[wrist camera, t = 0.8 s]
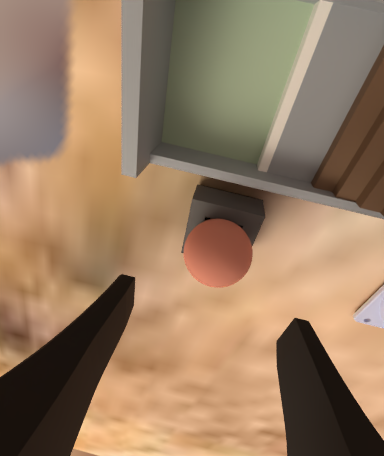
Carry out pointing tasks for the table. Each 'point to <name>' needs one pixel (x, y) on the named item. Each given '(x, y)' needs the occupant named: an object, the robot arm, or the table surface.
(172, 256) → the table surface
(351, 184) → the walnut step ramp
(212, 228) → the brick-red rubber ball
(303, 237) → the table surface
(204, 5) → the slate lane
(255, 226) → the square tube segment
